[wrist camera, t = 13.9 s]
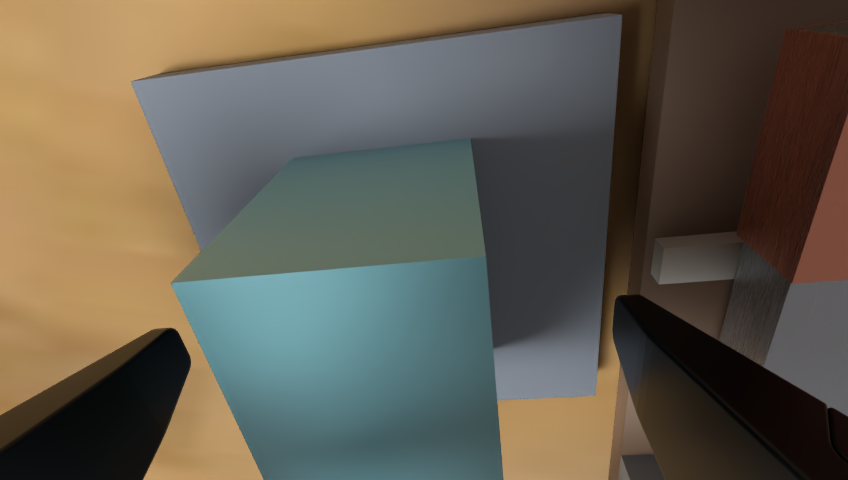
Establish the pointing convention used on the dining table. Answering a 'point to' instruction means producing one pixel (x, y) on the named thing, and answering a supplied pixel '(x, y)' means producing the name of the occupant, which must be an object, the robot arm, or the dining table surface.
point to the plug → (355, 318)
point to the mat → (433, 122)
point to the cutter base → (700, 167)
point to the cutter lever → (799, 222)
